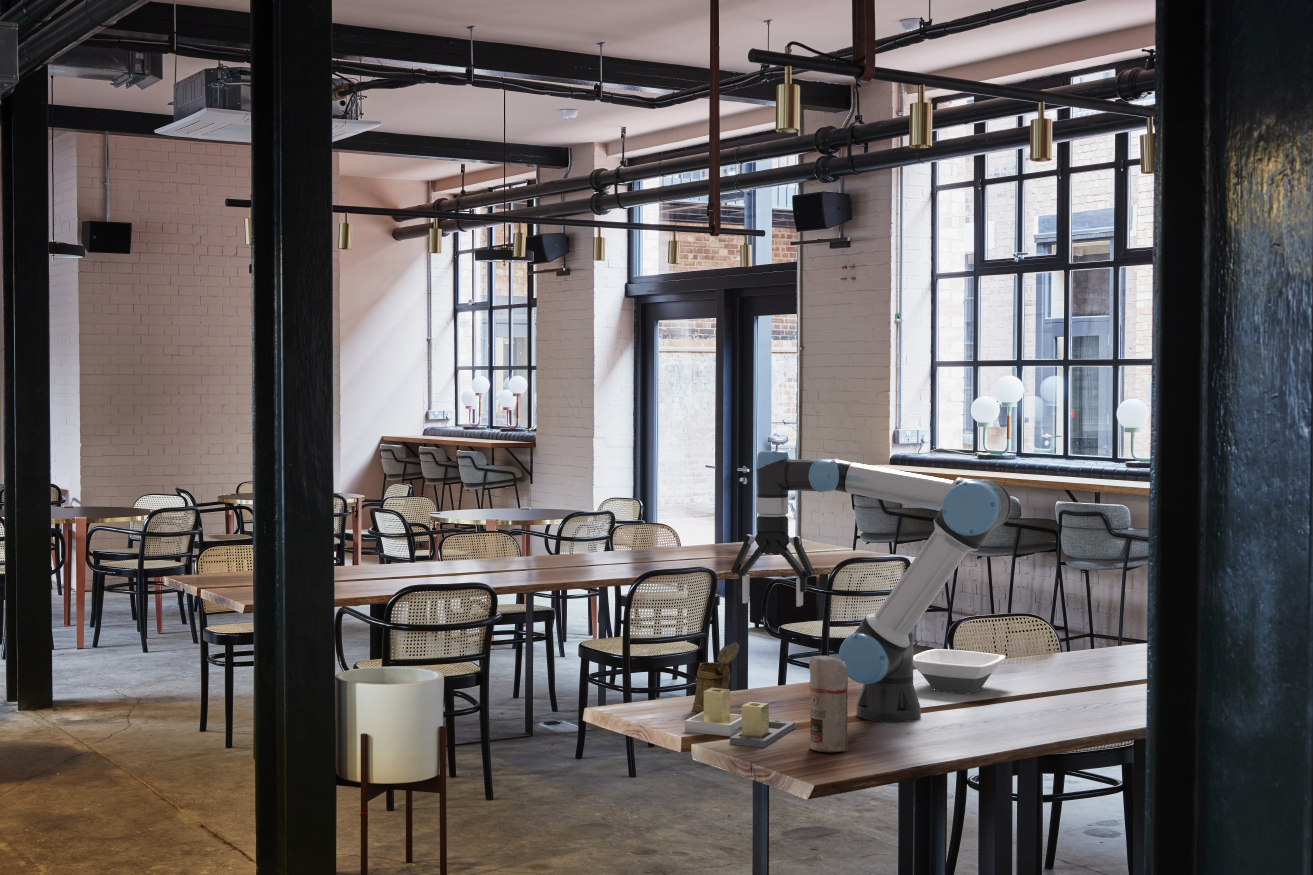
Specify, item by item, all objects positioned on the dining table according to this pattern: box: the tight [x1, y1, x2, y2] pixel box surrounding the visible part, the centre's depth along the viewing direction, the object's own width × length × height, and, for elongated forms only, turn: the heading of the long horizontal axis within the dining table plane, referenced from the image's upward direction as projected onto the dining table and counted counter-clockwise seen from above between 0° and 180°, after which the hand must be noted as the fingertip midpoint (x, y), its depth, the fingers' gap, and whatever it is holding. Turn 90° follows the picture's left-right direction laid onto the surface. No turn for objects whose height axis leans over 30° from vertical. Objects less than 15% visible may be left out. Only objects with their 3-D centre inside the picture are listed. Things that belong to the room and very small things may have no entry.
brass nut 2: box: [741, 701, 770, 739], centre depth 280 cm, size 5×5×8 cm
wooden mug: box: [691, 640, 740, 714], centre depth 310 cm, size 9×14×18 cm, turn 36°
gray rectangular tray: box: [729, 719, 796, 749], centre depth 284 cm, size 8×20×2 cm, turn 155°
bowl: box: [913, 648, 1006, 694], centre depth 338 cm, size 22×23×8 cm
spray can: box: [808, 655, 849, 753], centre depth 272 cm, size 8×8×20 cm
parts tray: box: [684, 711, 742, 737], centre depth 291 cm, size 11×11×2 cm
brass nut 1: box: [704, 688, 731, 724], centre depth 291 cm, size 5×5×8 cm
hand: (772, 604), depth 305 cm, fingers open, 13 cm apart
